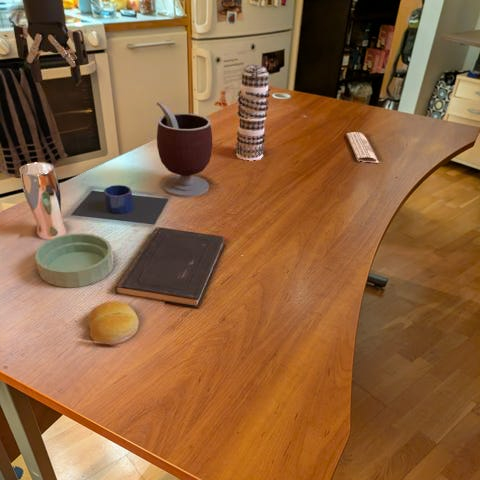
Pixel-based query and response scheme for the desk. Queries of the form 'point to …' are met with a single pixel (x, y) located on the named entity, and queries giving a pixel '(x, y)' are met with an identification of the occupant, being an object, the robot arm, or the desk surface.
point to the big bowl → (74, 260)
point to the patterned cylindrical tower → (252, 112)
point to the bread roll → (112, 322)
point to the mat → (142, 212)
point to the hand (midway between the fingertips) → (57, 83)
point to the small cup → (118, 199)
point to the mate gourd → (184, 151)
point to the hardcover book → (173, 267)
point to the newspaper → (361, 147)
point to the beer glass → (43, 198)
